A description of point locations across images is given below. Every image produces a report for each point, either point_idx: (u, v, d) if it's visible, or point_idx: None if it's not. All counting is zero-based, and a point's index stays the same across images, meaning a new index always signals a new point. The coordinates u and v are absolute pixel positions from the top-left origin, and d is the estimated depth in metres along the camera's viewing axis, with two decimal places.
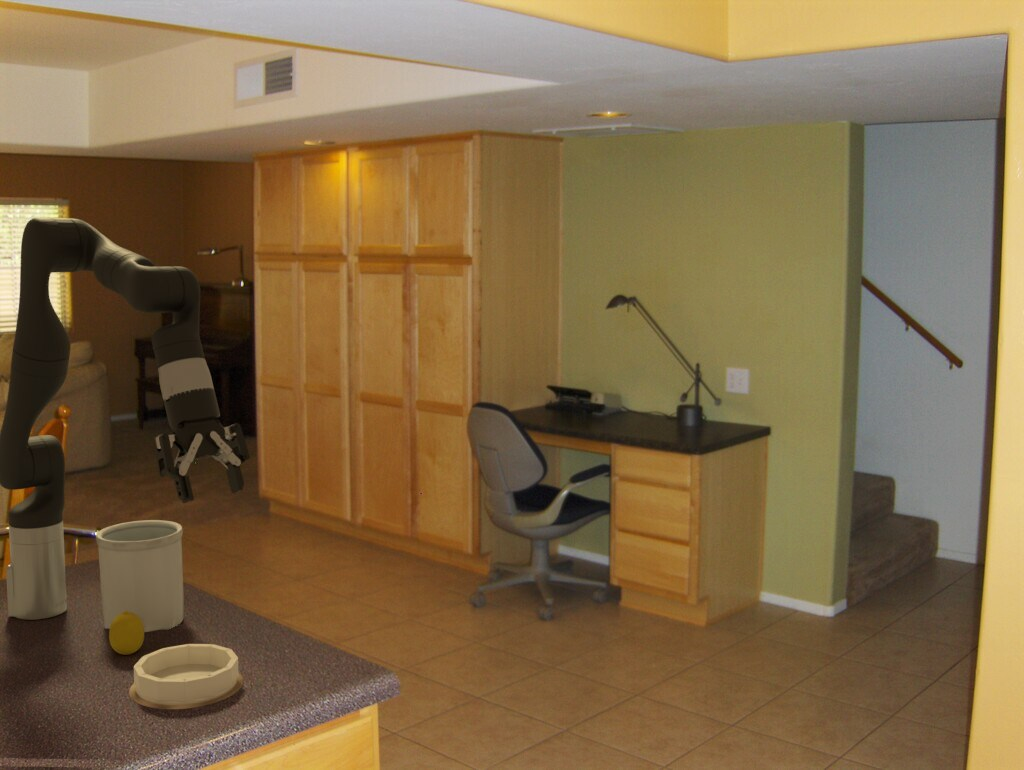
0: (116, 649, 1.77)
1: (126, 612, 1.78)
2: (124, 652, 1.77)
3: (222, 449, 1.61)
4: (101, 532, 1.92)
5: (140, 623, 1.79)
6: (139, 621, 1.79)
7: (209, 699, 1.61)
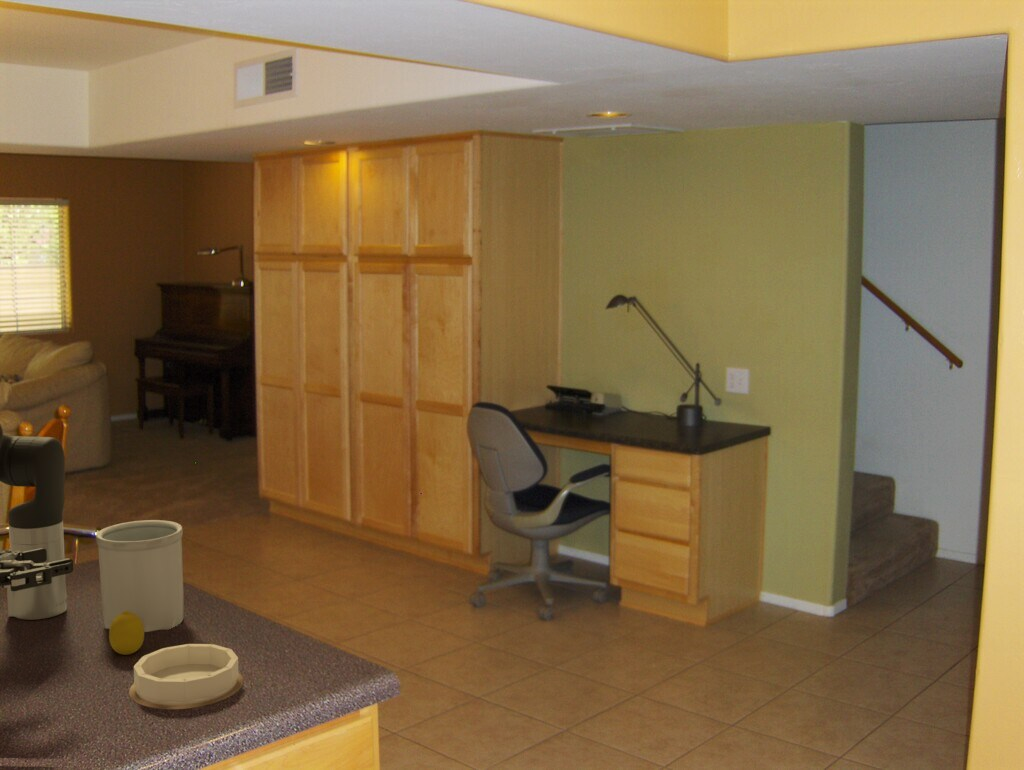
0: (116, 649, 1.77)
1: (126, 612, 1.78)
2: (124, 652, 1.77)
3: None
4: (101, 532, 1.92)
5: (140, 623, 1.79)
6: (139, 621, 1.79)
7: (209, 699, 1.61)
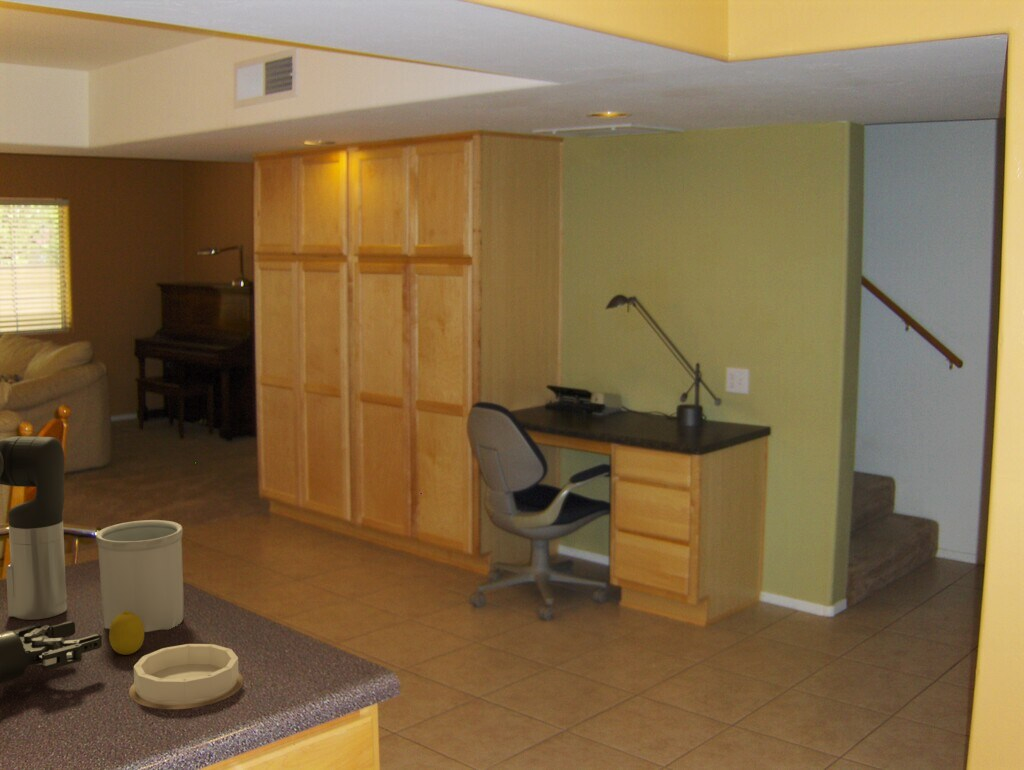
0: (116, 649, 1.77)
1: (126, 612, 1.78)
2: (124, 652, 1.77)
3: None
4: (101, 532, 1.92)
5: (140, 623, 1.79)
6: (139, 621, 1.79)
7: (209, 699, 1.61)
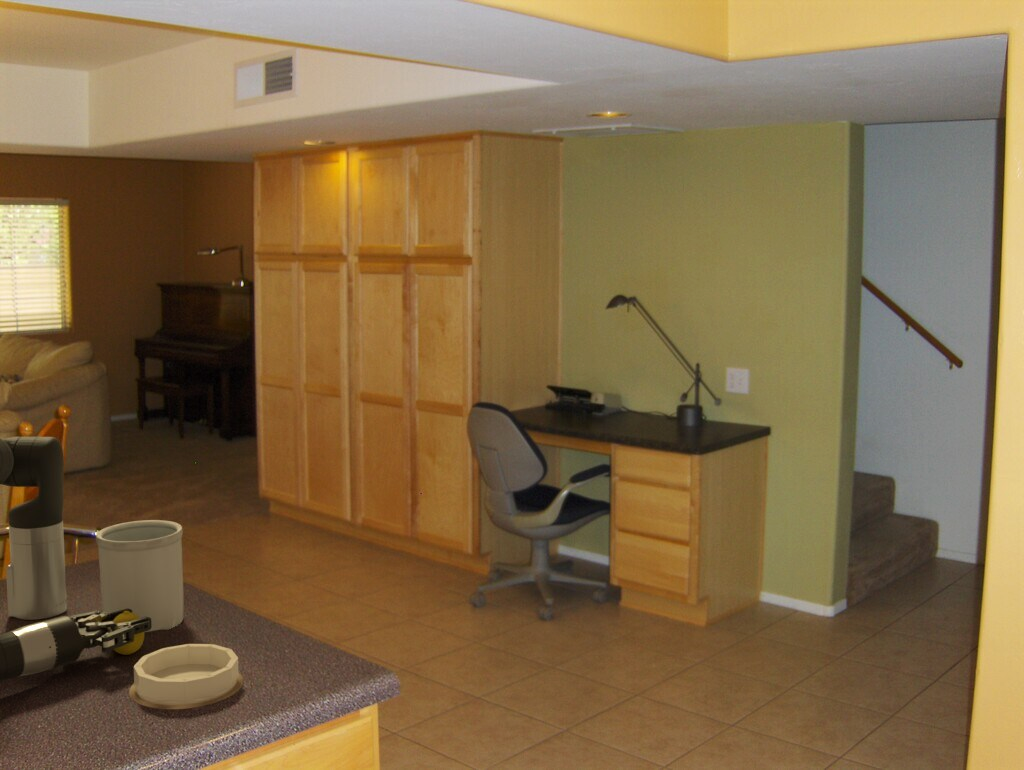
0: (116, 649, 1.77)
1: (126, 612, 1.78)
2: (124, 652, 1.77)
3: None
4: (101, 532, 1.92)
5: None
6: None
7: (209, 699, 1.61)
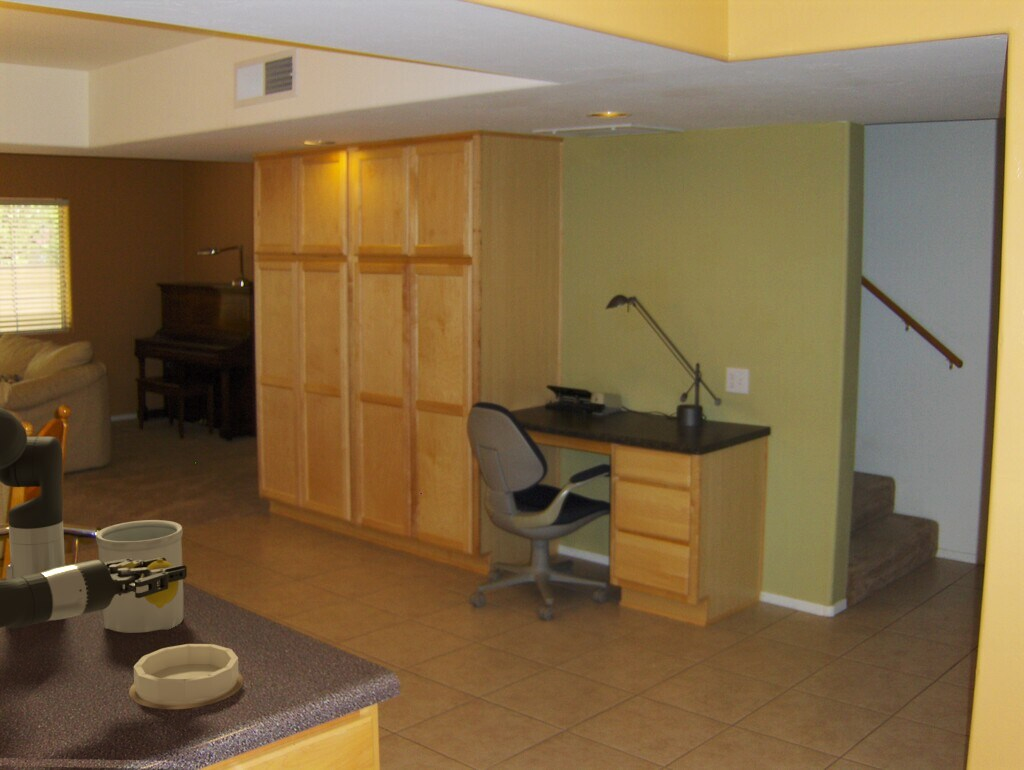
0: (149, 599, 1.66)
1: (160, 560, 1.67)
2: (157, 602, 1.66)
3: None
4: (101, 532, 1.92)
5: None
6: None
7: (209, 699, 1.61)
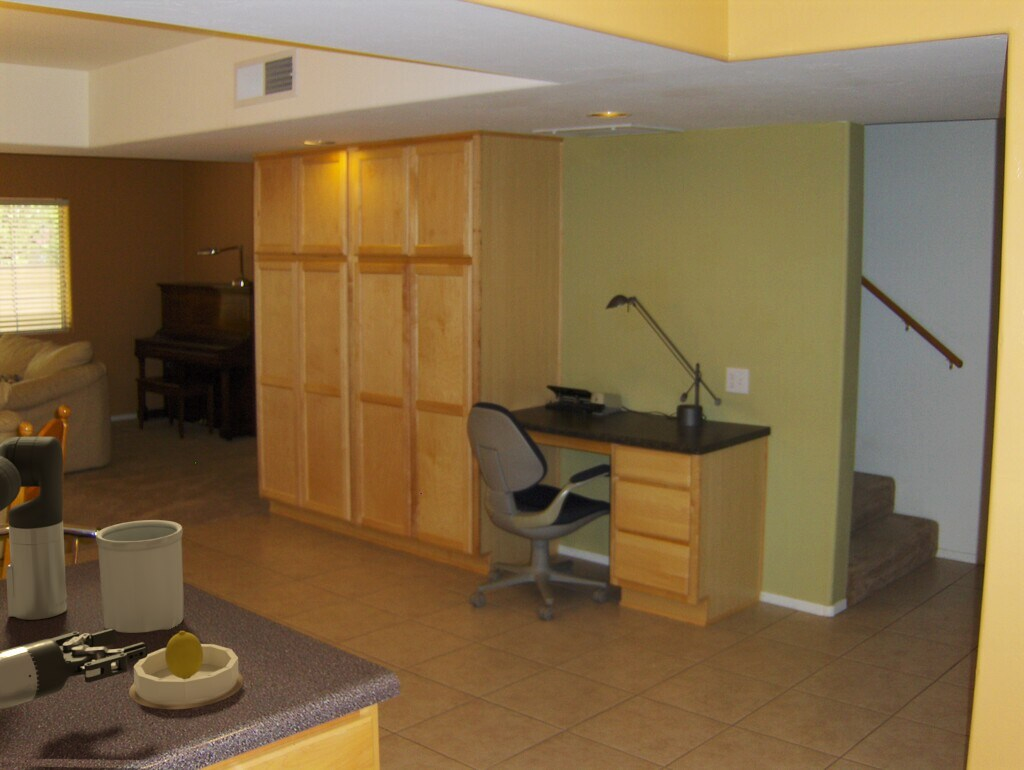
0: (175, 673, 1.64)
1: (182, 632, 1.65)
2: (184, 675, 1.64)
3: None
4: (101, 532, 1.92)
5: (198, 643, 1.65)
6: (197, 640, 1.65)
7: (209, 699, 1.61)
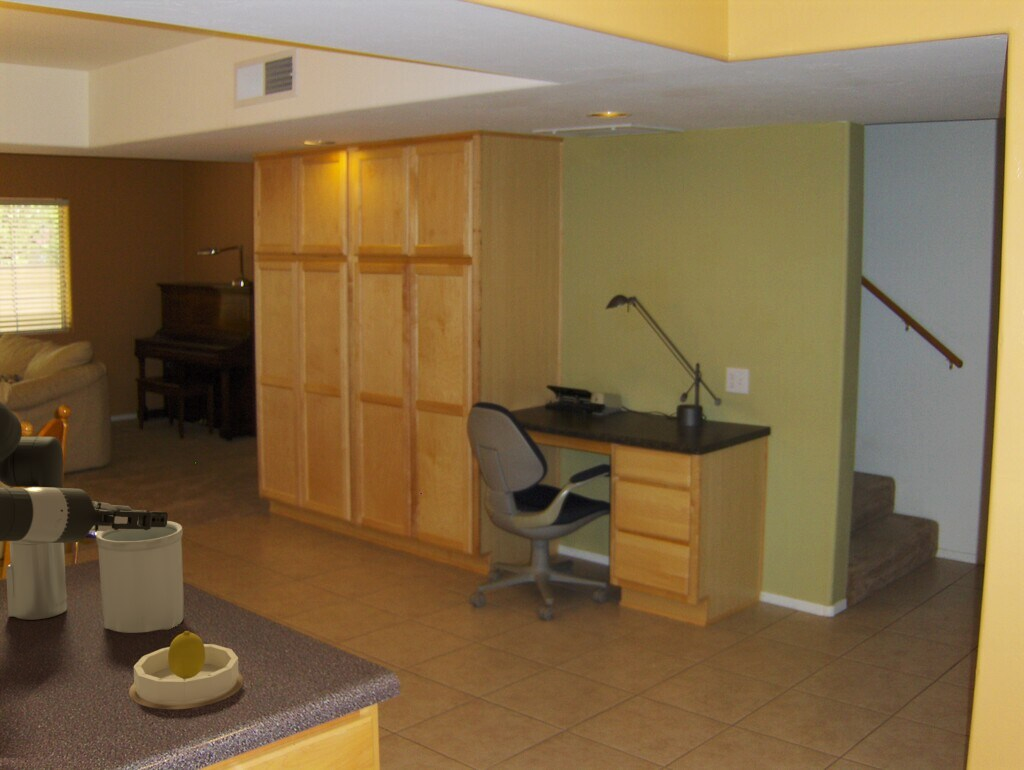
0: (177, 672, 1.64)
1: (187, 632, 1.65)
2: (185, 676, 1.64)
3: None
4: (101, 532, 1.92)
5: (202, 644, 1.66)
6: (201, 642, 1.65)
7: (209, 699, 1.61)
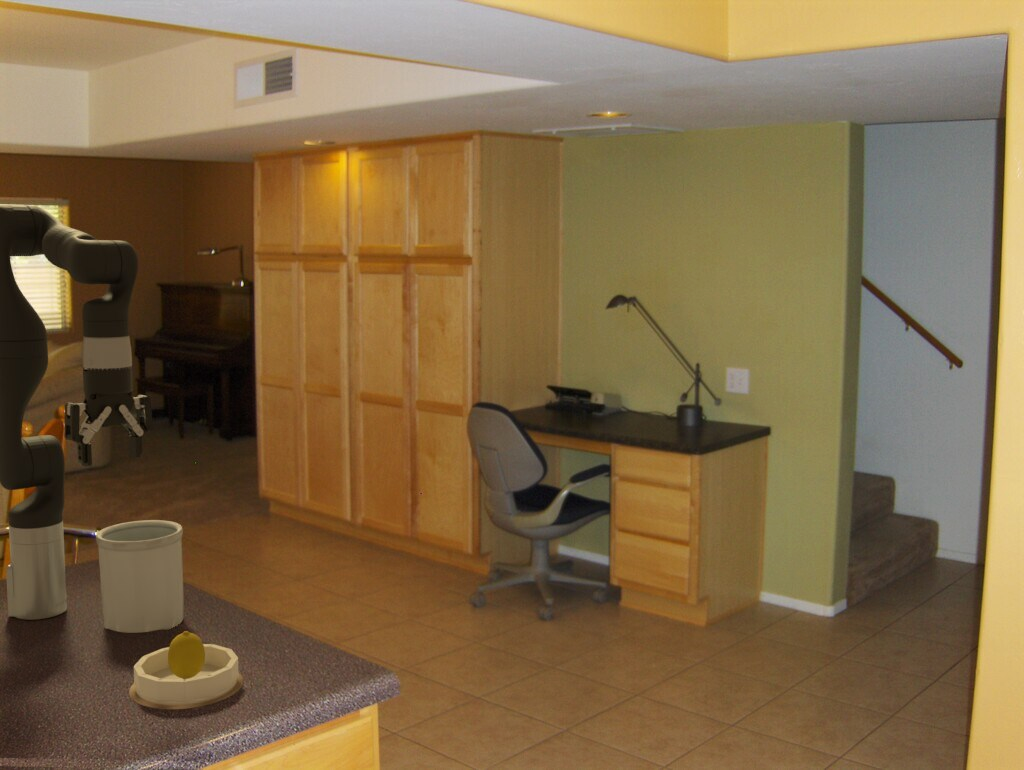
0: (177, 673, 1.64)
1: (186, 632, 1.65)
2: (185, 676, 1.64)
3: (128, 421, 1.76)
4: (101, 532, 1.92)
5: (201, 644, 1.66)
6: (200, 641, 1.66)
7: (209, 699, 1.61)
